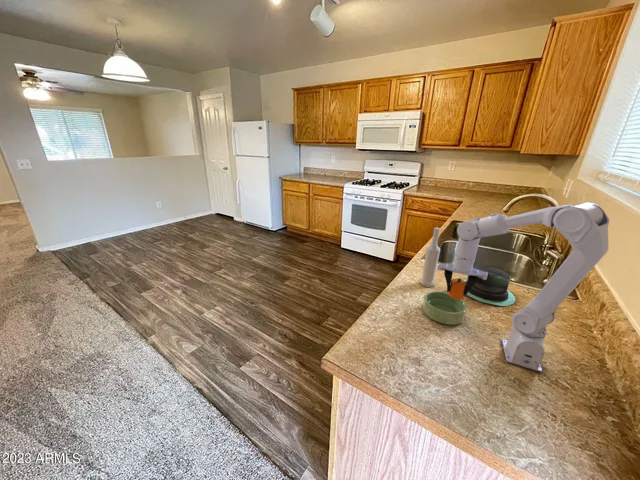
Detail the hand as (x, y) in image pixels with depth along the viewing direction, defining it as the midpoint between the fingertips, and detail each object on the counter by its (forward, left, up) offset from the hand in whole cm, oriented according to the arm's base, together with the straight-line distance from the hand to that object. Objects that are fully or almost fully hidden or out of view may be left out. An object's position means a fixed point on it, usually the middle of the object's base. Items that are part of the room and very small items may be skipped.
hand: (456, 292), depth 90 cm
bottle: (+17, +10, -9) cm, 21 cm away
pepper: (0, 0, -1) cm, 1 cm away
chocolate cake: (+22, -12, -9) cm, 27 cm away
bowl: (-2, +3, -8) cm, 9 cm away
